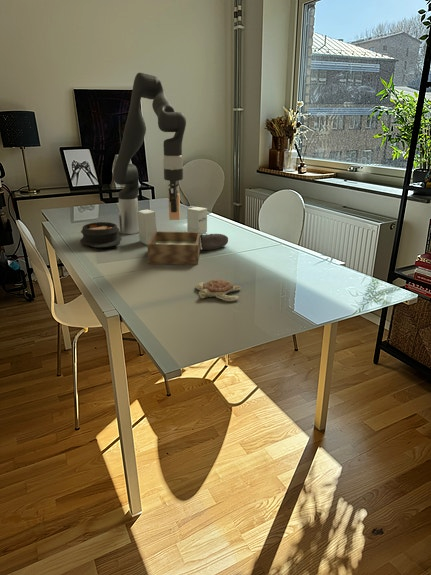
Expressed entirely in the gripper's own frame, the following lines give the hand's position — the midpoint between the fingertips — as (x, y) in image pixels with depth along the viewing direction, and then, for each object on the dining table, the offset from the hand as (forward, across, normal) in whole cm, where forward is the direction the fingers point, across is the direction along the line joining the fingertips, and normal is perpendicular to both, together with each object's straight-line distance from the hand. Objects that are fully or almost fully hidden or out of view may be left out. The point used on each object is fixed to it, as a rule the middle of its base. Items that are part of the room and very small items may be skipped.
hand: (174, 210), depth 171 cm
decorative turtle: (+20, +39, +18) cm, 47 cm away
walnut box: (+19, 0, 0) cm, 19 cm away
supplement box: (+20, -38, +7) cm, 43 cm away
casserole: (+20, -17, -36) cm, 45 cm away
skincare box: (+20, -20, -15) cm, 32 cm away
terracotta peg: (+3, 0, 0) cm, 3 cm away
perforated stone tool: (+20, -12, +16) cm, 28 cm away
